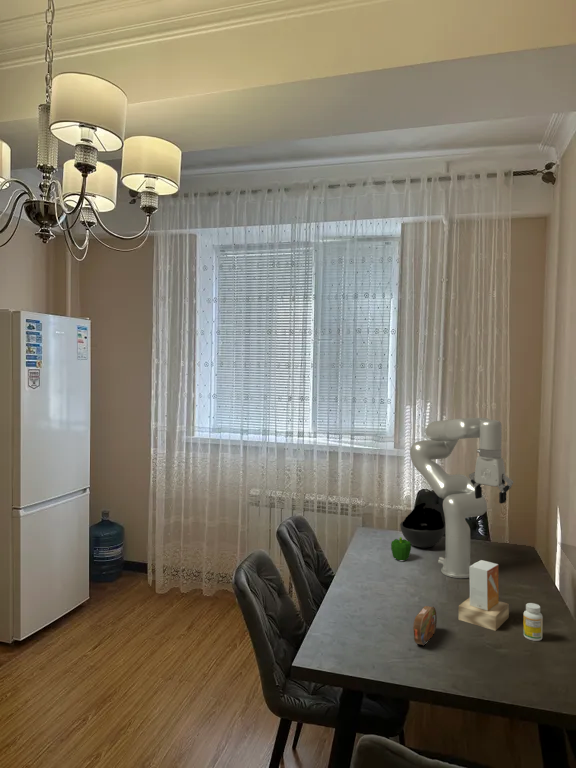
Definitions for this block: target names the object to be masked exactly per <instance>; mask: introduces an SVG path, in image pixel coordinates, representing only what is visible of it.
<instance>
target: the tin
mask: <svg viewBox="0 0 576 768" xmlns="http://www.w3.org/2000/svg"><path fill="white" fill-rule="evenodd" d="M437 619H438V618H437V611H436V608H435V607H434V606H428V605H426V606H423V607H422V608H421V610H420V611H419V612H418V614H417V615H416V616H415V618H414V621H413V626H412V629H413V641H414V642H415V643H416V644H418V645H422V646H424V645H425V643H426V642H427V641H428V640H429V639H430V638H432V637H433V636H434V635H435V633H436V629H437ZM433 634H434V635H433ZM430 640H431V639H430ZM430 640H429V641H430ZM425 646H426V645H425Z"/></svg>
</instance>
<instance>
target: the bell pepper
mask: <svg viewBox="0 0 576 768" xmlns="http://www.w3.org/2000/svg"><path fill="white" fill-rule="evenodd" d="M390 549H391V554H392V558H396V559H395V560H397V559H398V560H405V561H407V560H408V559H409V558H410V556H411V555H410V554H411V552H412V551H411V550H412V544H411V543H410V541H407V540H406V539H403V537H402V536H399V539H397V538H395V539H394V540H392V541H391V543H390ZM398 560H397V561H398Z"/></svg>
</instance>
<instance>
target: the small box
mask: <svg viewBox="0 0 576 768" xmlns="http://www.w3.org/2000/svg"><path fill="white" fill-rule="evenodd" d="M468 579H469V597H470V605H471V606H474V607H477V608H480V609H483V610H487V611H488V610H489V609H490V608H492V607H493V606H495V605H496V604H498V603H499V601H500V600H499V598H500V597H499V595H500V594H499V591H500V590H499V564H498V563H495V562H491V561H487V560H482V559H480V560H479V561H477V562H474V563H473V564H470V566H469V578H468Z"/></svg>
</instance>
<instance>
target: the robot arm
mask: <svg viewBox="0 0 576 768" xmlns="http://www.w3.org/2000/svg"><path fill="white" fill-rule="evenodd" d="M502 430H503V429H502V422H501V421H500V420H497V419H489V418H486V417H464V418H452V419H444V420H443V419H442V420H441V419H440V420H436V421H431V422H430V423H428V425H427V426H426V428H425V434H426V436H427V437H428V438H429V439H427V440H426V439H425V440H418V441H416V442H414V443H413V444H411V447H410V448H409V456H410V460H411V462H412V465H413V466H414V468H415V469H416V470H417V471H418V472H419V473H420V474H421V475H422V476H423V478H424V479H425V481H426V482H427V483H428V485H429V486H430V487H431V489H432V491H433V492H434V493H435V494H436V496H437V497H439V498H441V499H443V500H442V509H443V516H444V522H445V523H444V526H445V532H444V534H445V535H444V536H445V543H444V544H445V546H444V547H445V557H443V556H439V557H438V561H437V563H438V564H442V567H441V573H442V574H443V575H444V576H446V577H451V578H454V579H470V578H469V566H471V528H470V525H469V523H468V522H467V520H466V519H467V518H474V517H480V516H483V515H484V514H485V513H486V512H487V510H488V503H487V501H486V499H485V496H484V495H483V488H482V485H484V486H490V487H495V488H498V490H500V492H499V494H498V495H499V496H498V501H499V502H498V503H499V504H505V503H506V501H507V492H508V491H509V490H510V489H512V485H513V484H514V480H513V479H511V478H510V477H508V476H507V475H506V466H505V462H504V457H502V441H503V440H502V435H503V433H502ZM460 439H463V440H464V439H465V440H466V439H479V448H478V449H476V453H478V454H479V456H477V458H476V462H475V466H474V467H475V469H474V472H472V473H469V474H468V476H467V475H464V474H460V473H459V474H457V473H456V474H448V473H447V472H446V471H445V470H444V468H443V467H442V466H441V465H440V464H439V463H438V462H435V461H433V460H443V459H447V458H449V456H450V455H451V454H452V452H453V451H454V449H455V447H456V446H457V443H458V442H459V440H460ZM506 483H507V484H506Z"/></svg>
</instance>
